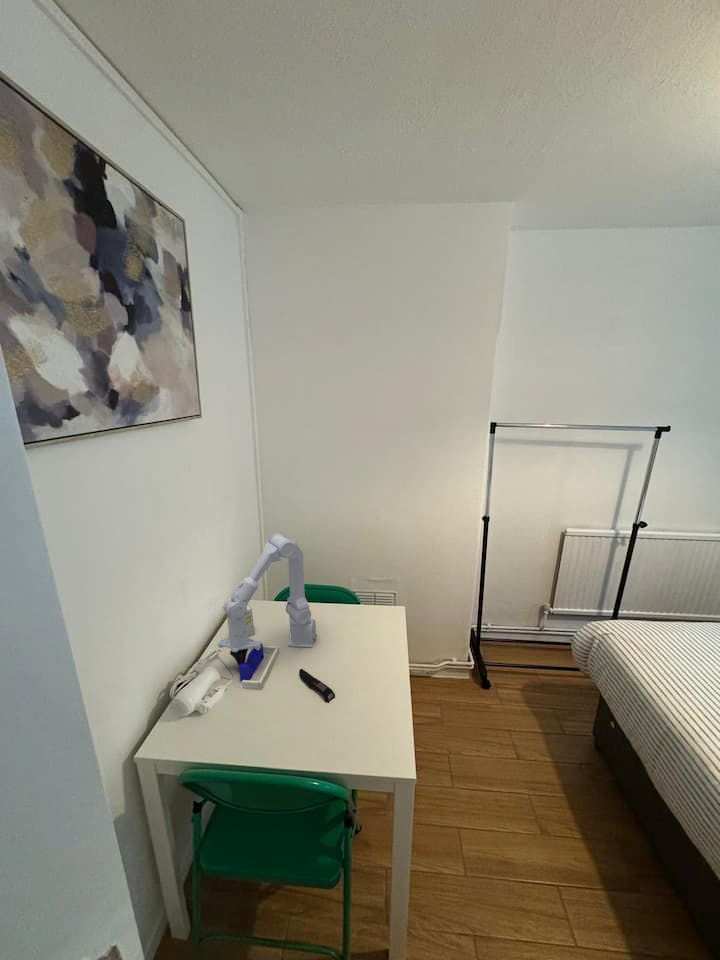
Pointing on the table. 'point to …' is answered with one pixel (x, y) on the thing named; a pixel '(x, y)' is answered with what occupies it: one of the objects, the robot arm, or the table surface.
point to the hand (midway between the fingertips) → (242, 665)
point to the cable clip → (251, 664)
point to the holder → (260, 683)
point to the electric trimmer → (317, 685)
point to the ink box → (249, 621)
